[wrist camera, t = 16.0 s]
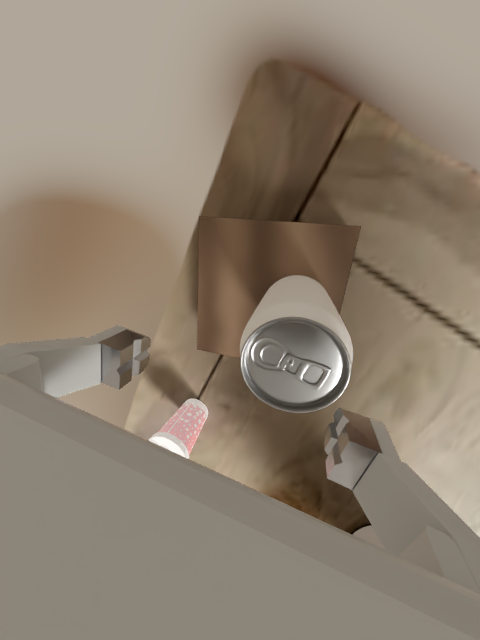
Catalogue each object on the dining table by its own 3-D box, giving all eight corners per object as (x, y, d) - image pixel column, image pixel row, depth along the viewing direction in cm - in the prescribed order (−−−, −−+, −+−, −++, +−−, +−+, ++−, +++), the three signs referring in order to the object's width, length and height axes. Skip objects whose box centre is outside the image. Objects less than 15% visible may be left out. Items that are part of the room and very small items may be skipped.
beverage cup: (180, 420, 40) (122, 502, 27) (178, 391, 38) (114, 465, 25) (212, 428, 38) (166, 519, 26) (212, 398, 36) (161, 481, 24)
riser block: (348, 230, 24) (361, 226, 19) (321, 351, 30) (324, 376, 24) (220, 221, 28) (199, 216, 22) (215, 331, 33) (197, 349, 28)
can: (278, 264, 22) (257, 287, 11) (342, 289, 21) (390, 343, 10) (254, 321, 24) (217, 388, 13) (311, 345, 23) (321, 438, 12)
